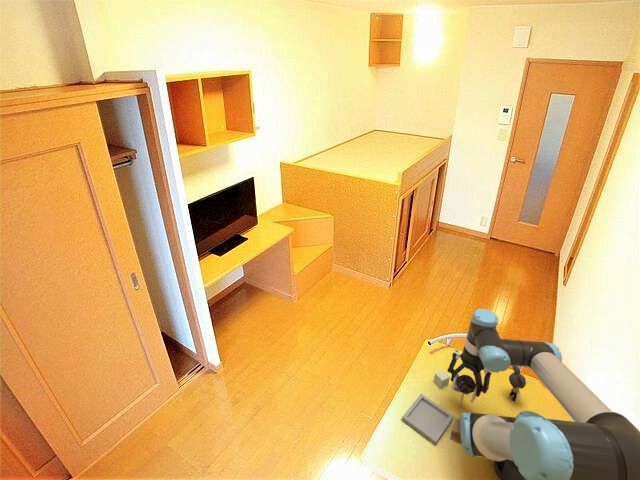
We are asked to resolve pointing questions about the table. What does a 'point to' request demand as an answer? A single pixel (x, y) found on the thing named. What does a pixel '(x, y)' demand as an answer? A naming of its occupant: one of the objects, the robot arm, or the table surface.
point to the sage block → (441, 379)
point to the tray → (428, 418)
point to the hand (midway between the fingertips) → (463, 393)
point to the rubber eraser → (458, 389)
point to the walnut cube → (456, 431)
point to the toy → (516, 383)
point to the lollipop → (465, 385)
